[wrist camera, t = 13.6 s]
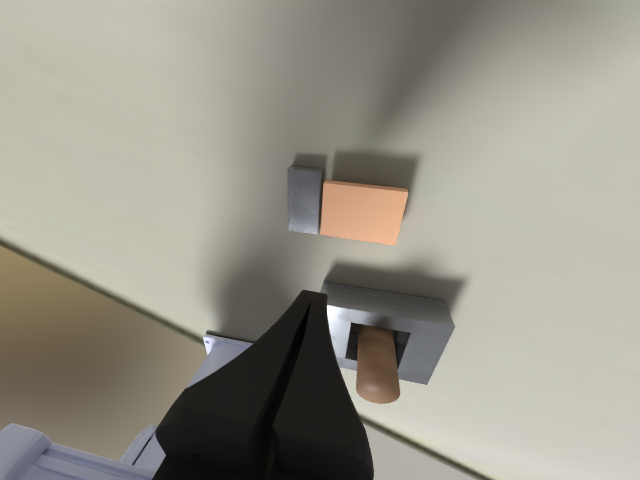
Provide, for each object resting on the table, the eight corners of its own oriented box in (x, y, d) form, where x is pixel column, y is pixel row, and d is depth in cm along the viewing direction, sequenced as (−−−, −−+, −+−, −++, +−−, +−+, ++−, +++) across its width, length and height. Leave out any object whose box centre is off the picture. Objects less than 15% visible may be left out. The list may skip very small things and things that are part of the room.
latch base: (319, 229, 20) (317, 234, 19) (291, 225, 20) (288, 230, 19) (322, 168, 17) (320, 171, 17) (291, 166, 18) (287, 168, 17)
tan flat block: (322, 230, 19) (394, 240, 18) (320, 234, 18) (395, 245, 17) (325, 179, 17) (407, 188, 16) (323, 182, 16) (408, 192, 15)
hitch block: (420, 356, 25) (426, 384, 22) (319, 337, 26) (313, 362, 24) (444, 300, 21) (455, 326, 18) (323, 281, 22) (317, 303, 20)
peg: (388, 333, 24) (395, 407, 18) (357, 328, 25) (354, 398, 19) (394, 310, 23) (404, 383, 17) (361, 305, 23) (358, 374, 17)
